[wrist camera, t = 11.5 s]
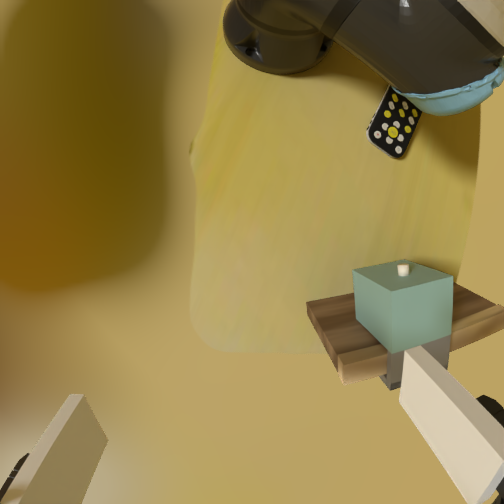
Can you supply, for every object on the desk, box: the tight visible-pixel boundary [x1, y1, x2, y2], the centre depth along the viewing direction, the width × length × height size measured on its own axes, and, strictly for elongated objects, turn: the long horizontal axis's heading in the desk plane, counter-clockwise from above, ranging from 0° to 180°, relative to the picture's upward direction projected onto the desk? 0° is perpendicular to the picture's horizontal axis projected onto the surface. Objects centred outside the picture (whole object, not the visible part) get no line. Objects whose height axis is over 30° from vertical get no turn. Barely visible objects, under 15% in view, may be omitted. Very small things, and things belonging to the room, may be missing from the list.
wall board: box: [306, 282, 504, 385], centre depth 35 cm, size 2×22×17 cm, turn 99°
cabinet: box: [352, 260, 453, 390], centre depth 30 cm, size 11×7×10 cm, turn 9°
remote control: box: [366, 84, 422, 158], centre depth 37 cm, size 6×13×2 cm, turn 152°
